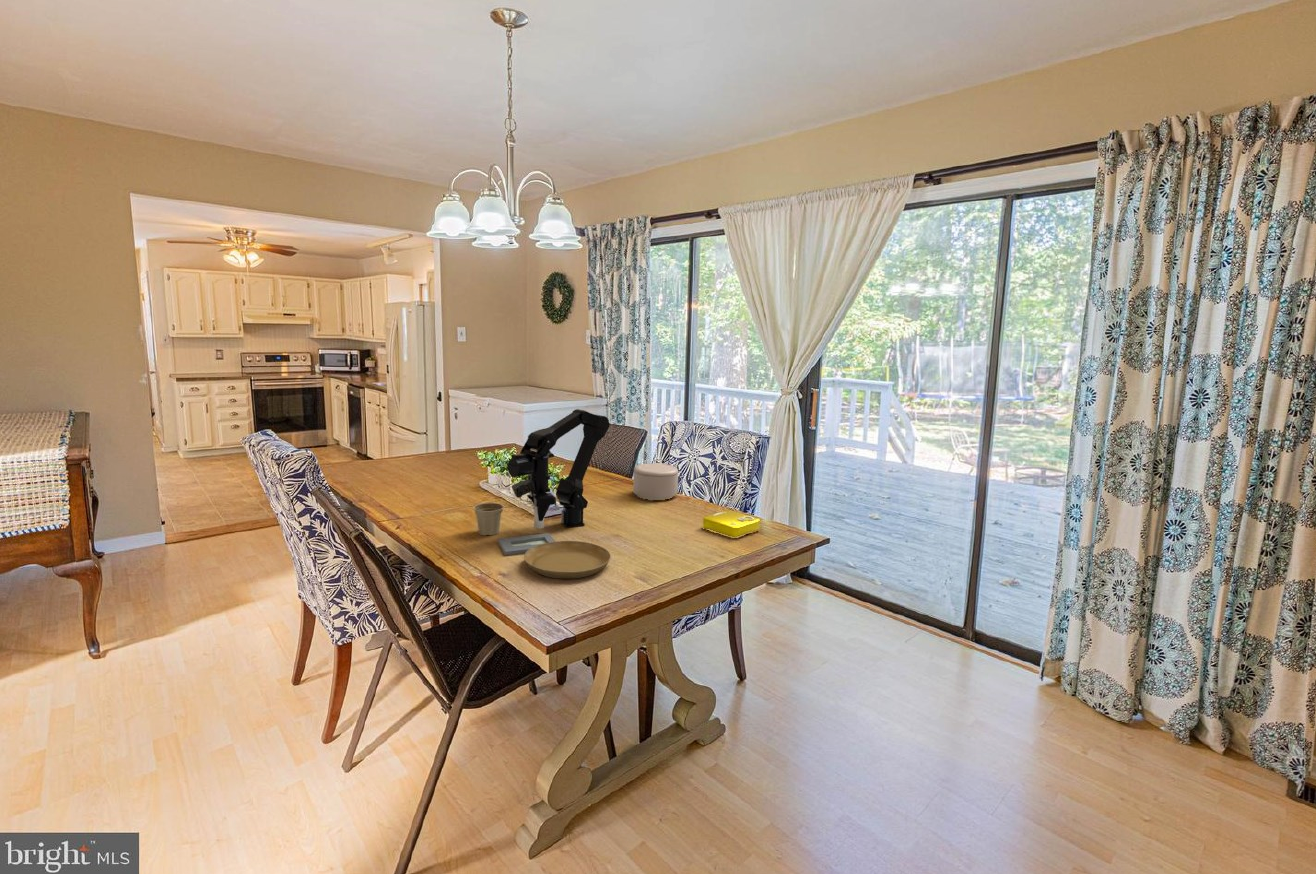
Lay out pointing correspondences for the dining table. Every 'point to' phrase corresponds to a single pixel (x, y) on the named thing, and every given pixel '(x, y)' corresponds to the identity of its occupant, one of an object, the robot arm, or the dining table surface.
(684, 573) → the dining table surface
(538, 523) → the cream peg
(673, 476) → the container
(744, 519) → the element tile
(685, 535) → the dining table surface
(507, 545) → the keyhole plate
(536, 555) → the plant saucer
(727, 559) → the dining table surface
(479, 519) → the flower pot
